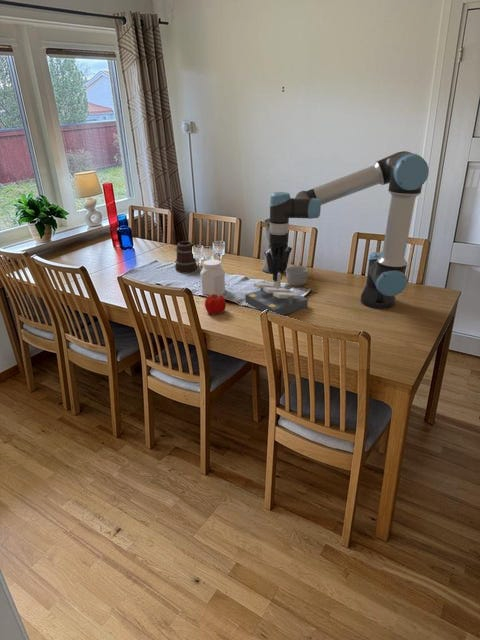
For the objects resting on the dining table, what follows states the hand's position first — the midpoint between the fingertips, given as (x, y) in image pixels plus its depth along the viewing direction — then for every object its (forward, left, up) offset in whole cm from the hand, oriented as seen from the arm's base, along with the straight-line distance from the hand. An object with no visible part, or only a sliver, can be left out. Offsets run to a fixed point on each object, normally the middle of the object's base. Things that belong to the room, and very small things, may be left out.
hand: (277, 287), depth 186 cm
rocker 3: (0, -5, -5) cm, 7 cm away
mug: (+75, +2, -12) cm, 76 cm away
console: (+7, -5, -12) cm, 15 cm away
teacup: (+21, -30, -12) cm, 39 cm away
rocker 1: (+14, -5, -5) cm, 16 cm away
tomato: (+17, +21, -12) cm, 29 cm away
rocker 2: (+7, -5, -5) cm, 10 cm away
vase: (+42, -33, -12) cm, 55 cm away
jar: (+37, +9, -12) cm, 40 cm away
